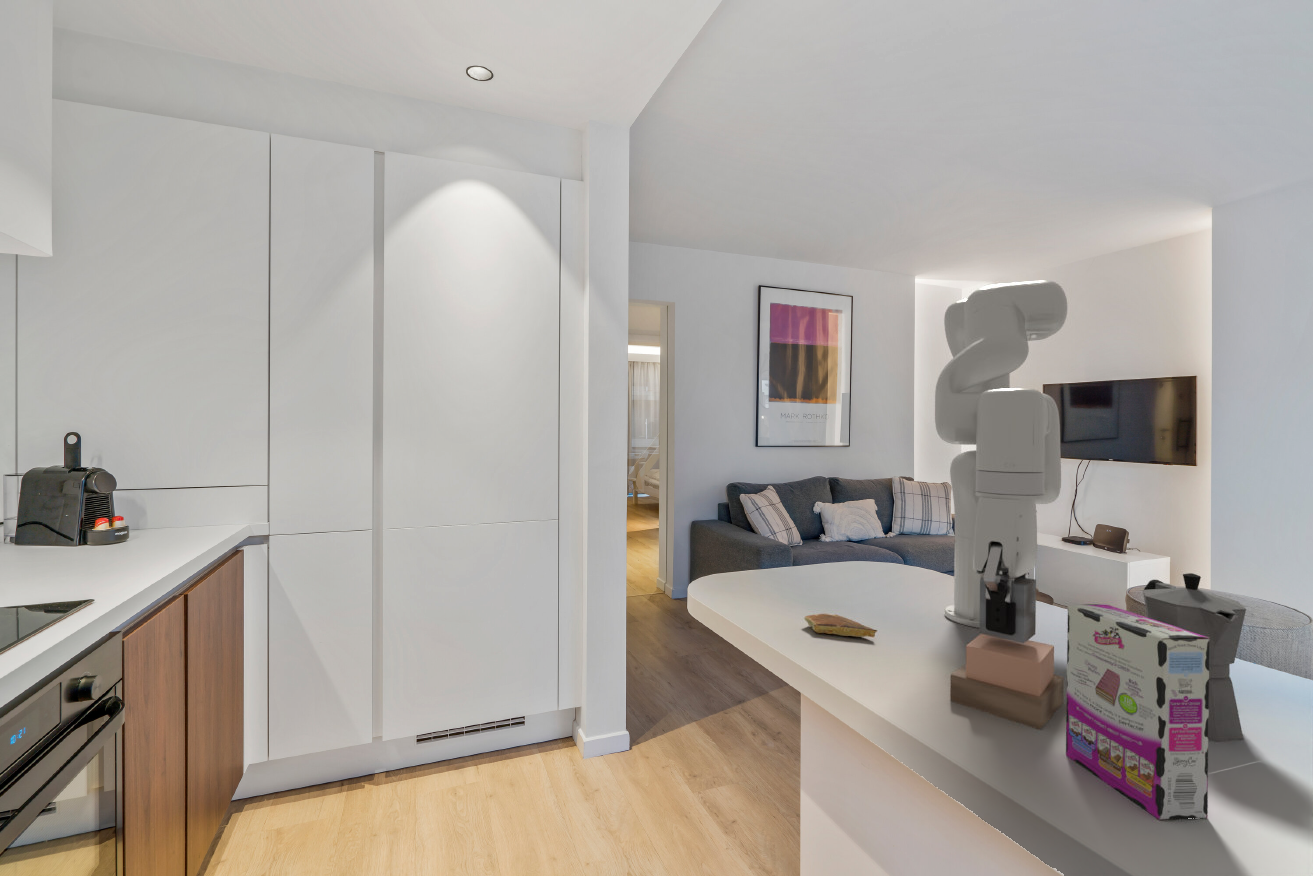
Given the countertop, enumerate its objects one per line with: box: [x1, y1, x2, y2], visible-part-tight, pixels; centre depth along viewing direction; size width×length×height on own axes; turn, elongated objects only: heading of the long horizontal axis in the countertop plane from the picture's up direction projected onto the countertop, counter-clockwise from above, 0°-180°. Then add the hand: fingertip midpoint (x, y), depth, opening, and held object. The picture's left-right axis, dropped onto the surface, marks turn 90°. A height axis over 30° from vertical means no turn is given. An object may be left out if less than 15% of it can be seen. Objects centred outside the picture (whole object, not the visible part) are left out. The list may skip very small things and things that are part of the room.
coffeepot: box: [1142, 572, 1247, 743], centre depth 71 cm, size 15×9×18 cm, turn 167°
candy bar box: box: [1065, 603, 1210, 822], centre depth 58 cm, size 11×5×16 cm, turn 5°
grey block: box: [978, 574, 1037, 643], centre depth 75 cm, size 5×5×7 cm
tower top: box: [965, 633, 1055, 697], centre depth 75 cm, size 8×8×4 cm
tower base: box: [949, 663, 1065, 730], centre depth 75 cm, size 10×10×4 cm
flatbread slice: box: [804, 613, 878, 638], centre depth 101 cm, size 11×8×2 cm
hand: (1007, 625), depth 75 cm, fingers closed on grey block, 4 cm apart
